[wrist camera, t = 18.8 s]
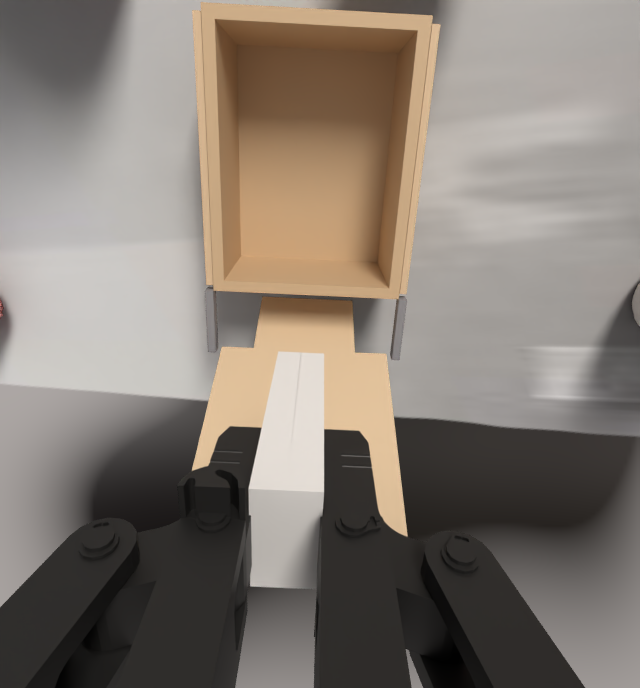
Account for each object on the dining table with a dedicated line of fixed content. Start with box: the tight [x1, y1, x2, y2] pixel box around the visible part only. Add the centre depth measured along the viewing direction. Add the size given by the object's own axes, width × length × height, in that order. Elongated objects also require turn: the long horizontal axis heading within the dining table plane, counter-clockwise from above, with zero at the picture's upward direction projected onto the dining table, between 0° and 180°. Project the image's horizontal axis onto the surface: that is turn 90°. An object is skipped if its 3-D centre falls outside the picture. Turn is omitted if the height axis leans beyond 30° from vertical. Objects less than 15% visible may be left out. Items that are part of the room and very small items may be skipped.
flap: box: [192, 297, 408, 537], centre depth 34 cm, size 22×13×1 cm
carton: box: [192, 2, 440, 360], centre depth 37 cm, size 23×15×9 cm, turn 177°
